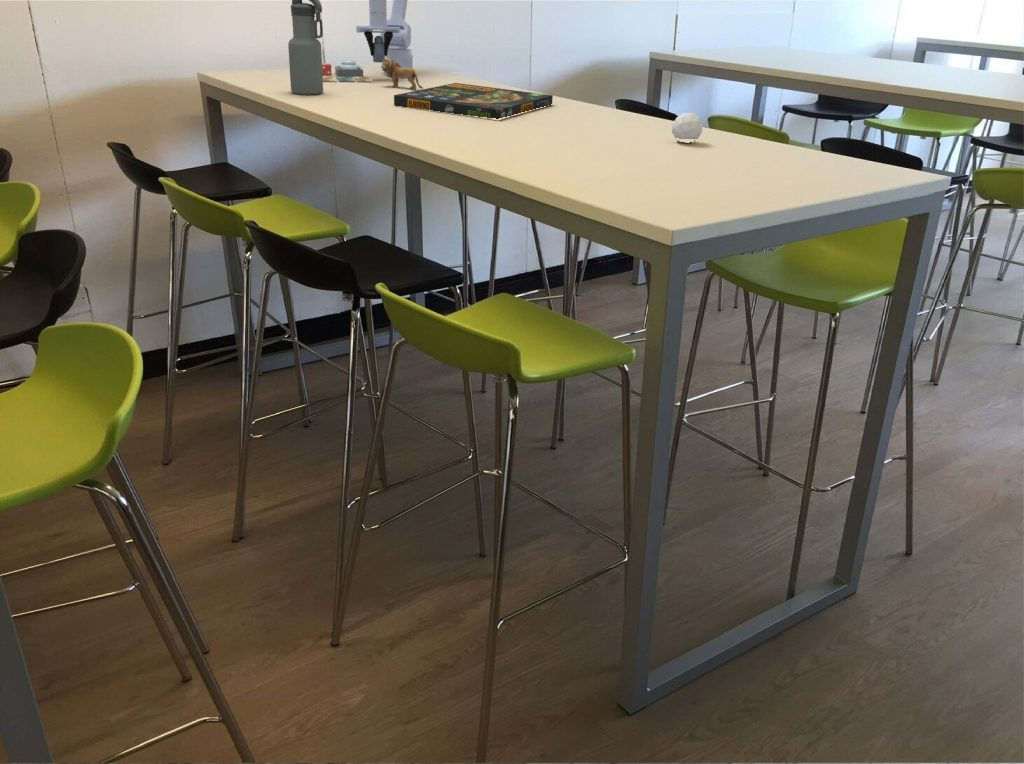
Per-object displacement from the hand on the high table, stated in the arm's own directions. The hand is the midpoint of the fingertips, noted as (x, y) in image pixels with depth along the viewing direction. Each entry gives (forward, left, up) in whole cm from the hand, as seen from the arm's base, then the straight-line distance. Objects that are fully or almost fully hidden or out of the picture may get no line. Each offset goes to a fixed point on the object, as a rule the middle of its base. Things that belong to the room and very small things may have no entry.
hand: (378, 55), depth 301 cm
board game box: (-22, +50, -9) cm, 55 cm away
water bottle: (+26, +28, -8) cm, 39 cm away
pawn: (0, 0, -2) cm, 2 cm away
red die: (+17, -12, -8) cm, 22 cm away
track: (+12, 0, -8) cm, 14 cm away
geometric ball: (-65, +106, -8) cm, 125 cm away
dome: (+9, -12, -8) cm, 17 cm away
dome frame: (+9, -12, -8) cm, 17 cm away
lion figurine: (-5, +17, -8) cm, 20 cm away
